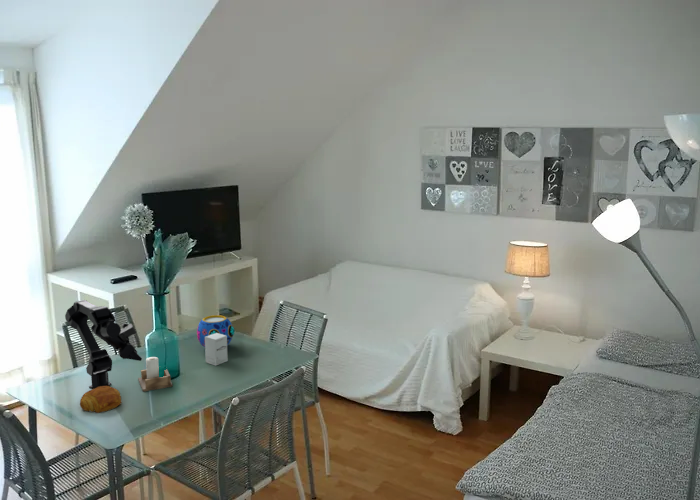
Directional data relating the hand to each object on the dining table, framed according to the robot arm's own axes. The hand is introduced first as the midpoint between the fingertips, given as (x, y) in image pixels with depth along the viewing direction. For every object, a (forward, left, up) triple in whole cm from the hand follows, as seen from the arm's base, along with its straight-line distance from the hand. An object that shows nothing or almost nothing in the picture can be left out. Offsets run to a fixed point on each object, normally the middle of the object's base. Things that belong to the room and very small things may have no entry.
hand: (139, 356), depth 264 cm
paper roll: (+3, -4, -12) cm, 13 cm away
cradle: (+4, -4, -13) cm, 14 cm away
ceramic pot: (+50, -6, -13) cm, 52 cm away
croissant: (-21, +2, -13) cm, 25 cm away
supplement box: (+34, -16, -13) cm, 40 cm away
